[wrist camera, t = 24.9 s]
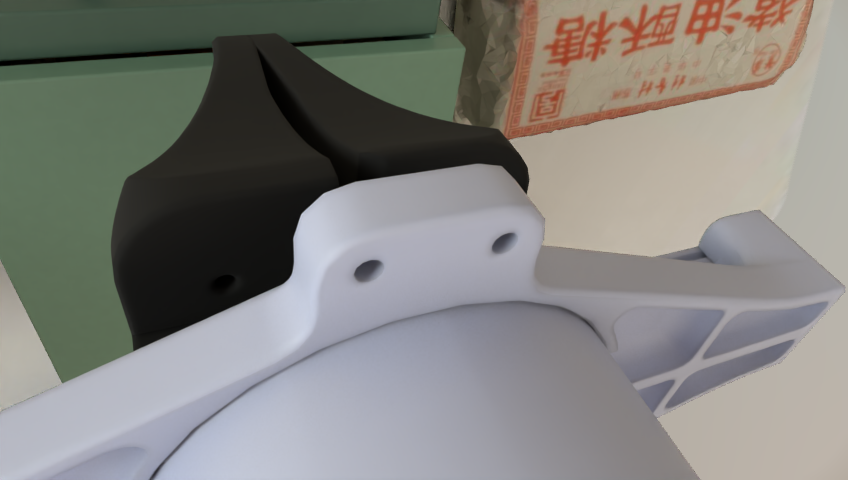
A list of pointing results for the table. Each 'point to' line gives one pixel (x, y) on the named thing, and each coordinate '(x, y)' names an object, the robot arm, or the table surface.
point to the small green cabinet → (138, 166)
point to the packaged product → (615, 57)
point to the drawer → (195, 25)
